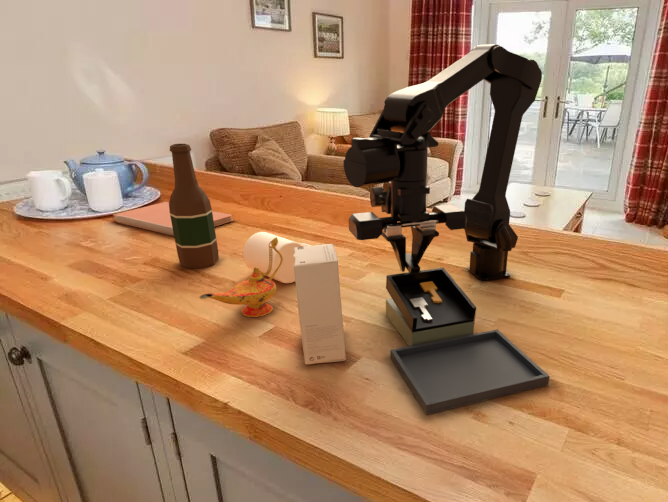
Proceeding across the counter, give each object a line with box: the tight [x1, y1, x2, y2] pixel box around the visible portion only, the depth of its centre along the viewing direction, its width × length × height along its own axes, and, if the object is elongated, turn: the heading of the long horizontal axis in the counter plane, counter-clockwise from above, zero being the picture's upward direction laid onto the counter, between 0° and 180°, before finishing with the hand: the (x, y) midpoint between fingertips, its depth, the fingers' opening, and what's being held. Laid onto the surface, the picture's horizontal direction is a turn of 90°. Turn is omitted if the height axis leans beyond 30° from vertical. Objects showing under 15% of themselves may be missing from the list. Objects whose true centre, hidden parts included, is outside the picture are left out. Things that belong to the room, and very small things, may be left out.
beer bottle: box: [168, 143, 220, 269], centre depth 98 cm, size 8×8×24 cm
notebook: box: [112, 201, 235, 237], centre depth 129 cm, size 27×17×2 cm, turn 61°
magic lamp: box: [199, 237, 283, 318], centre depth 79 cm, size 7×18×11 cm, turn 153°
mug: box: [242, 231, 311, 284], centre depth 96 cm, size 12×10×8 cm
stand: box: [385, 297, 475, 347], centre depth 77 cm, size 12×10×3 cm
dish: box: [385, 252, 477, 332], centre depth 77 cm, size 17×10×3 cm, turn 21°
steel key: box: [409, 297, 433, 322], centre depth 74 cm, size 6×2×1 cm, turn 21°
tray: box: [389, 328, 551, 416], centre depth 66 cm, size 17×13×1 cm
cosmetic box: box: [293, 243, 347, 365], centre depth 68 cm, size 8×6×15 cm
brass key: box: [420, 281, 442, 303], centre depth 78 cm, size 6×2×1 cm, turn 21°
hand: (408, 270), depth 83 cm, fingers closed on dish, 2 cm apart
